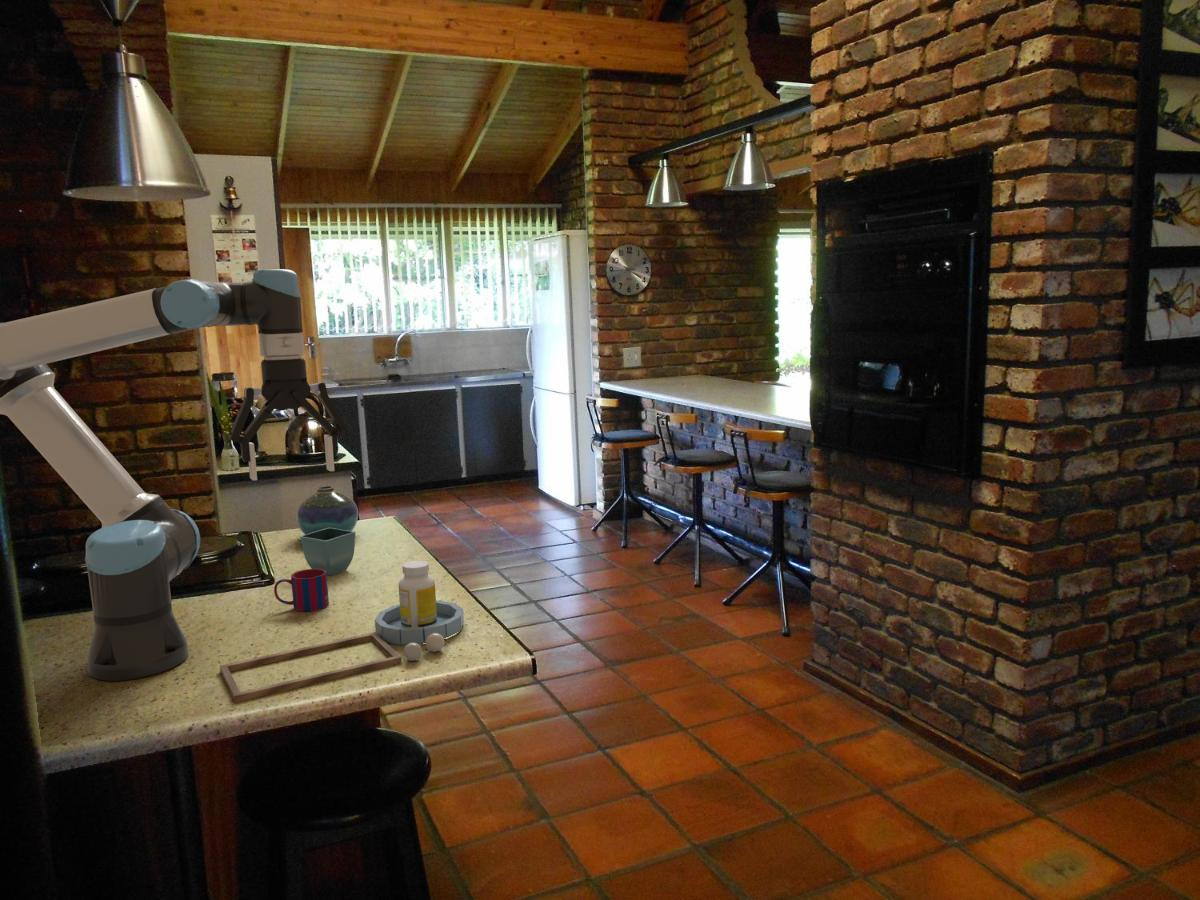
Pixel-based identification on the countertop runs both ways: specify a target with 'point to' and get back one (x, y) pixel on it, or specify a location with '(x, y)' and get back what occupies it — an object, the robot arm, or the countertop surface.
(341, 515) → the vase
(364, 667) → the open rectangular frame
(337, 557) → the flower pot
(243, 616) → the countertop surface
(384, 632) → the bowl
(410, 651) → the glossy pale sphere
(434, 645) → the pebble
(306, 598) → the mug
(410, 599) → the pill bottle
